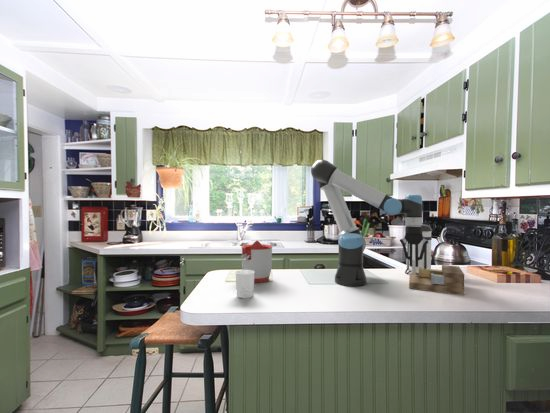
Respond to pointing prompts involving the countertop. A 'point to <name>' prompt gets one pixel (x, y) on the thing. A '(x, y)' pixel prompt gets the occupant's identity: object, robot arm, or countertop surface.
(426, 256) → the coffee press
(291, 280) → the countertop surface
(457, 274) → the socket block
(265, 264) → the citrus juicer
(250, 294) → the white cup
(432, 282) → the grey steel plug
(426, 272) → the brass plug
